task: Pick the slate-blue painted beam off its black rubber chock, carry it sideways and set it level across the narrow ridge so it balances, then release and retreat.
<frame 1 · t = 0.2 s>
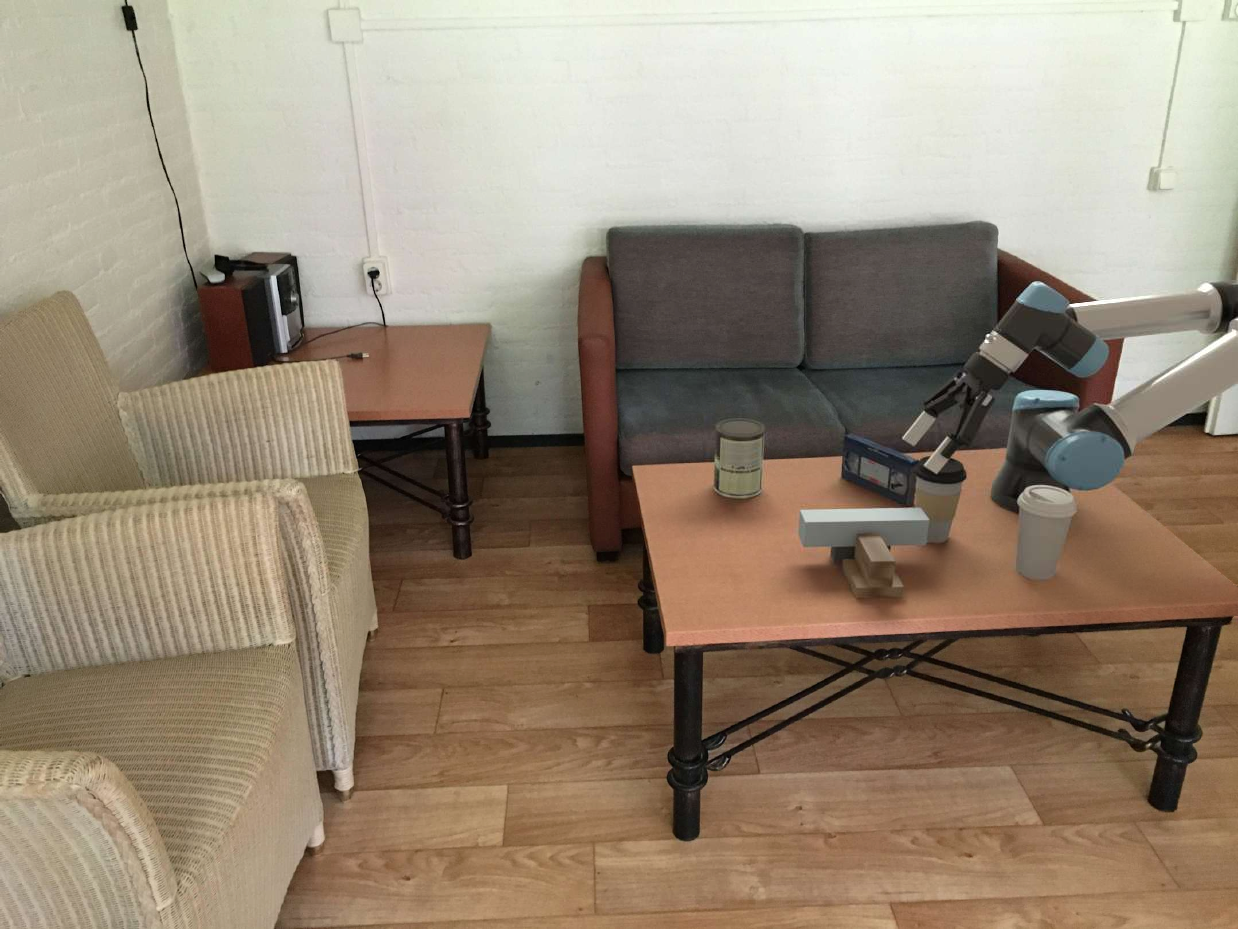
hand: (918, 455, 181), 16 cm above the table, tool tilted 35°, fingers open, 13 cm apart
beam: (861, 539, 177), point 4 cm above the table, touching chock
chock: (859, 559, 178), on the table
vhs cassette tape: (876, 491, 206), on the table
fulcrum: (871, 582, 171), on the table
coffee cup: (931, 536, 187), on the table
coffee can: (737, 489, 207), on the table
coffee cup 2: (1034, 571, 174), on the table
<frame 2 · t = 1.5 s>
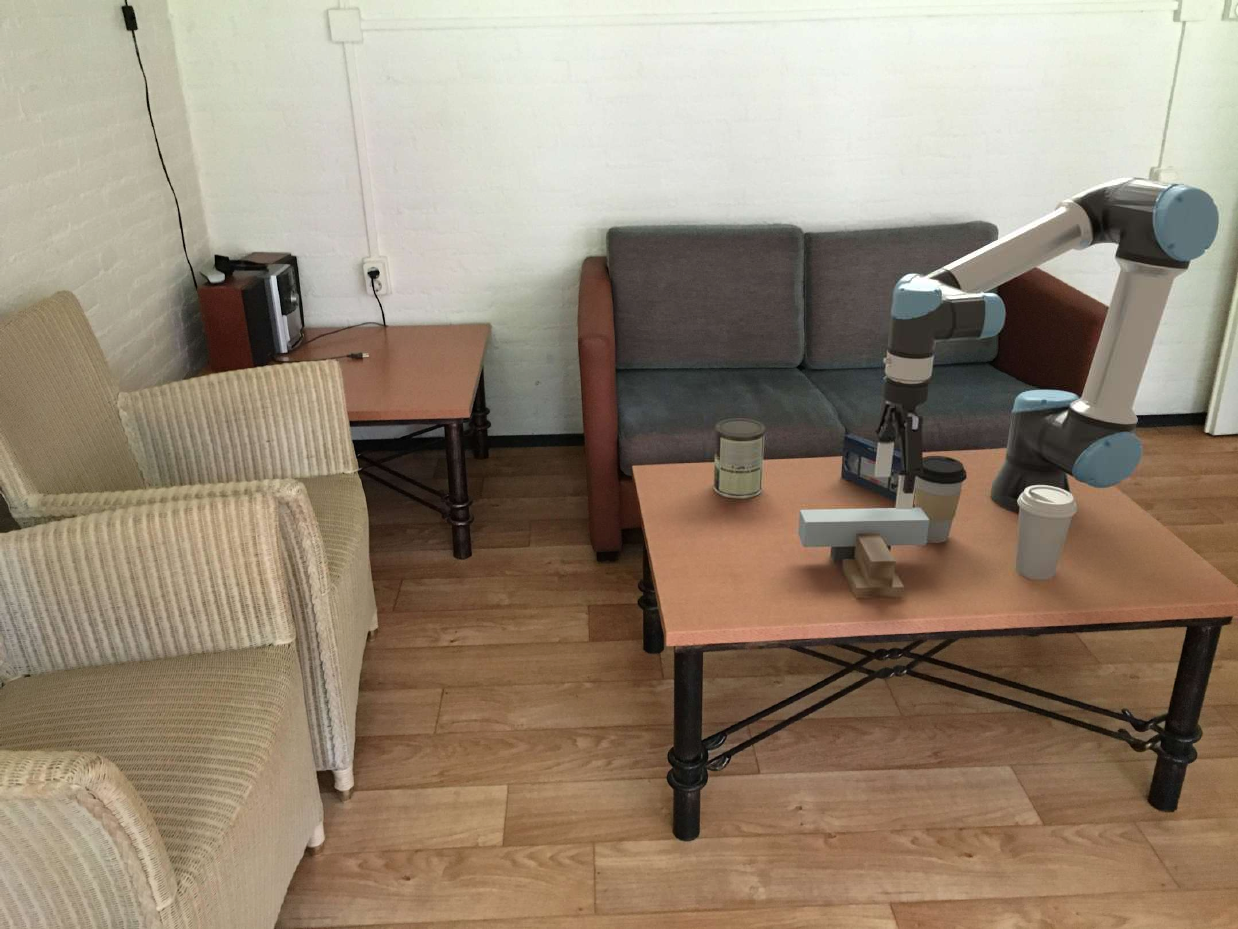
hand: (892, 491, 173), 13 cm above the table, tool pointing down, fingers open, 13 cm apart
nothing on the table moved.
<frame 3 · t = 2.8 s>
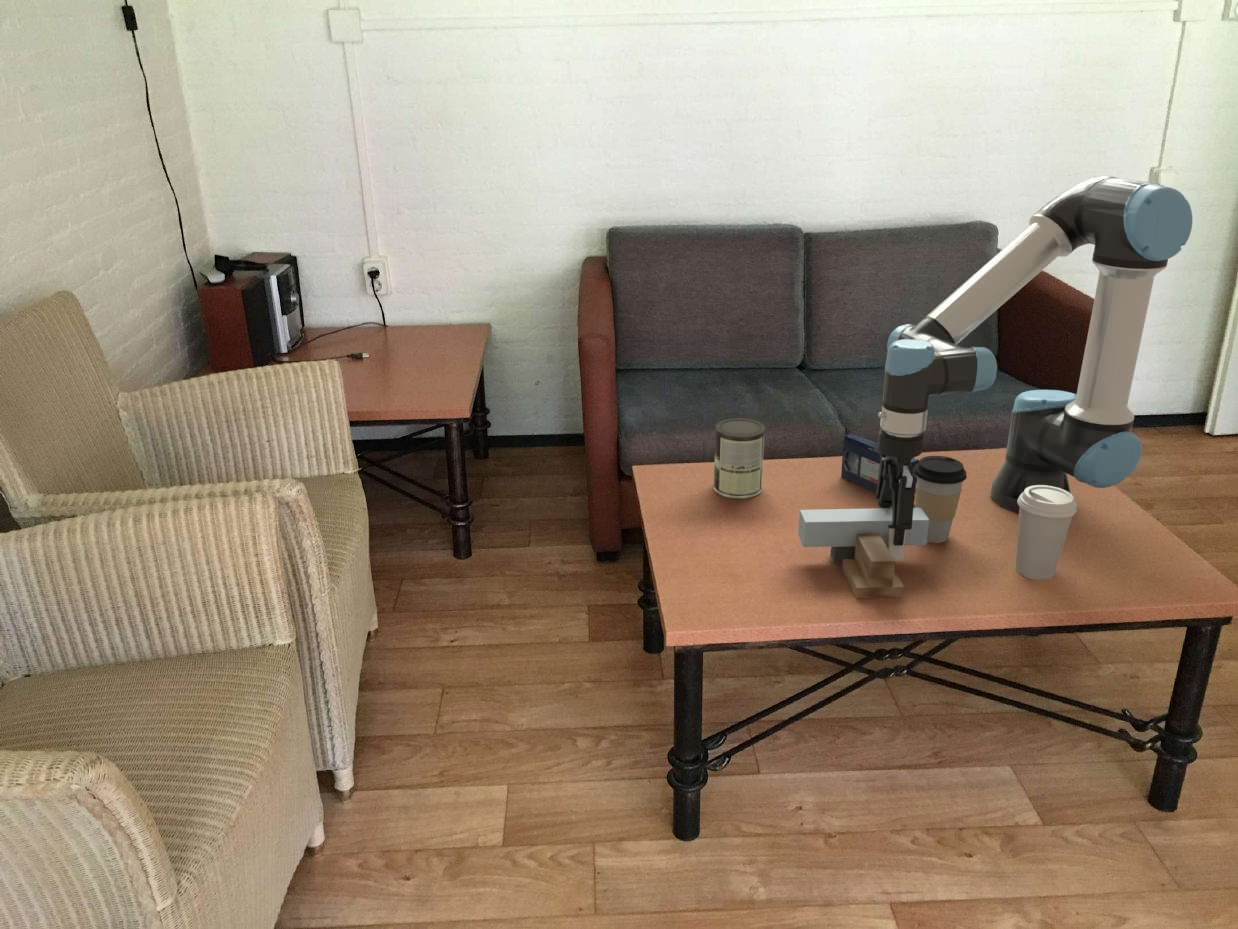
hand: (888, 549, 177), 2 cm above the table, tool pointing down, fingers open, 6 cm apart
beam: (861, 539, 177), point 4 cm above the table, touching chock, gripper
everything else where it was.
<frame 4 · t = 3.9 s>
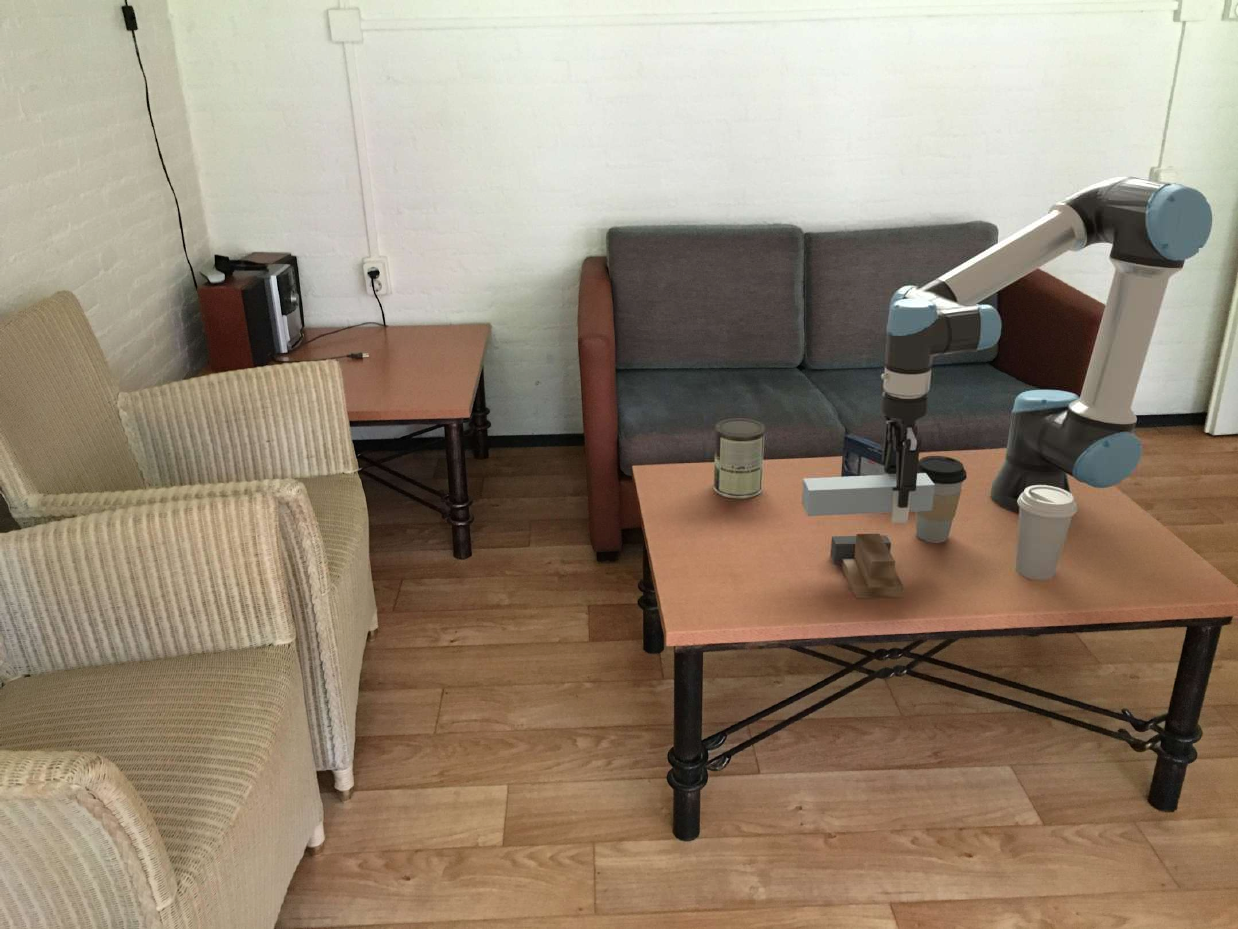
hand: (894, 514, 175), 9 cm above the table, tool pointing down, fingers closed on beam, 5 cm apart
beam: (866, 507, 174), point 10 cm above the table, touching gripper
everything else where it was.
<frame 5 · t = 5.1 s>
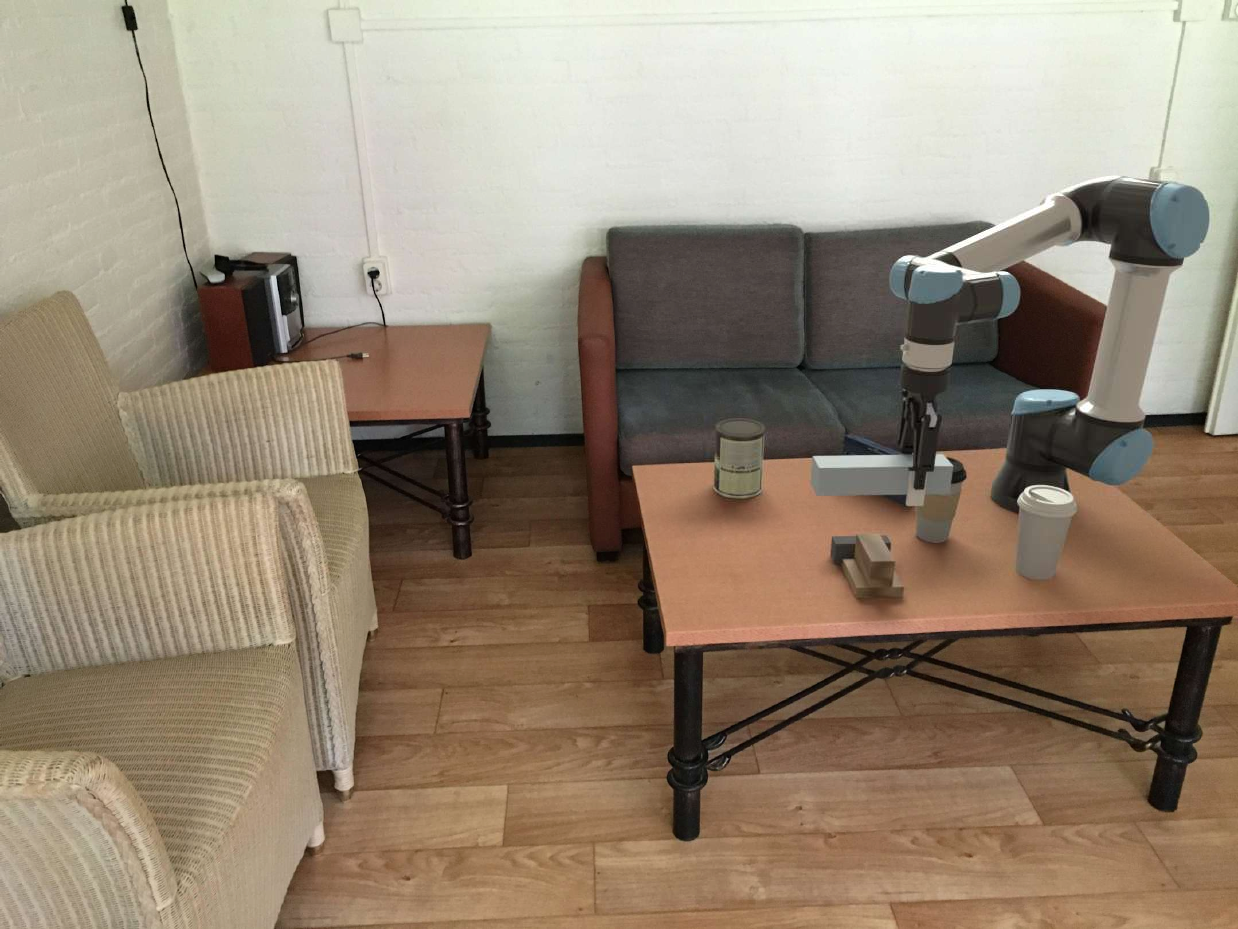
hand: (909, 497, 164), 16 cm above the table, tool pointing down, fingers closed on beam, 5 cm apart
beam: (879, 488, 164), point 18 cm above the table, touching gripper
everything else where it was.
when the fingers open (6 cm above the table, at t = 6.7 s): beam stays where it is, resting on fulcrum.
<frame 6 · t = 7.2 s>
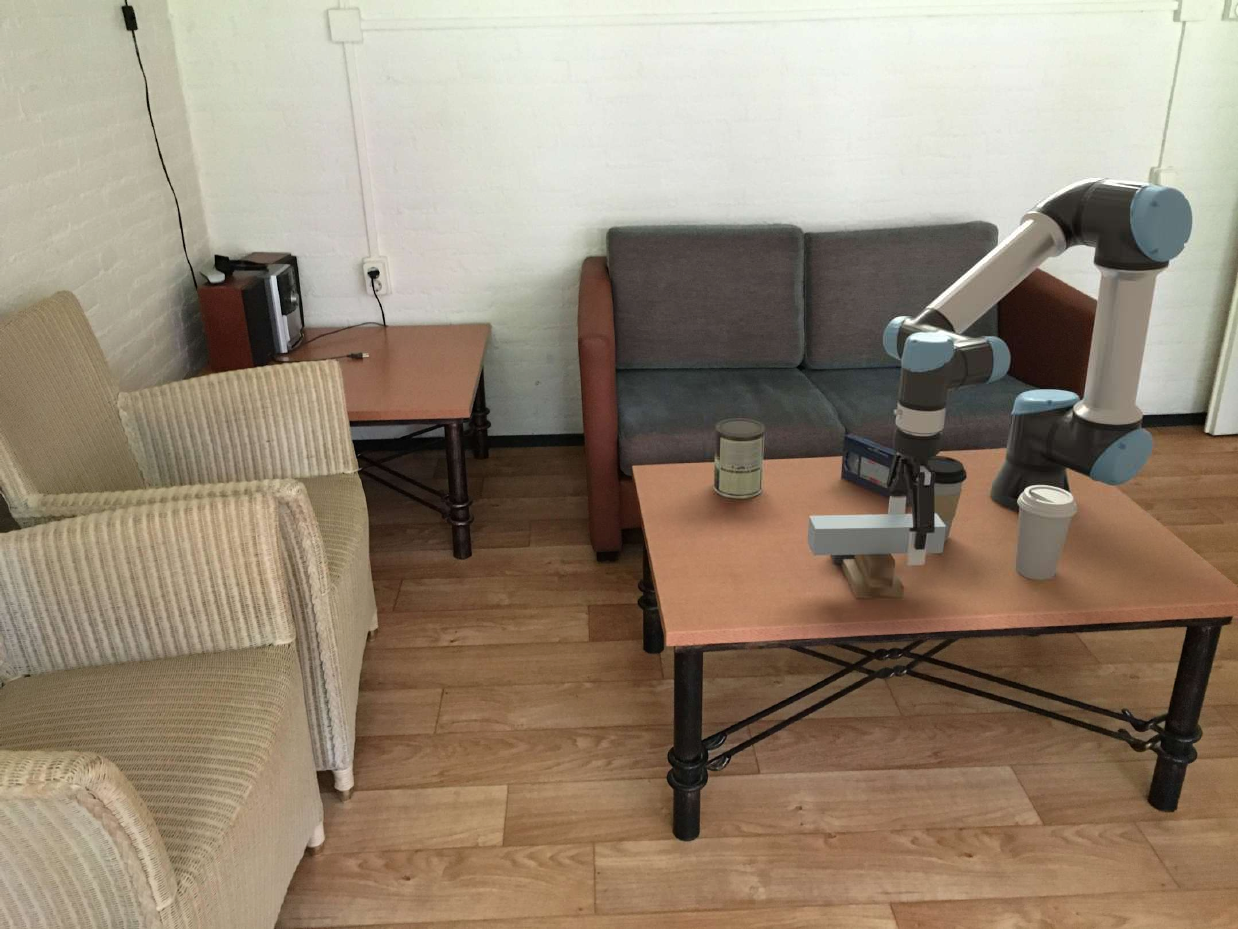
hand: (904, 546, 168), 7 cm above the table, tool pointing down, fingers open, 11 cm apart
beam: (874, 547, 168), point 7 cm above the table, touching fulcrum
everything else where it was.
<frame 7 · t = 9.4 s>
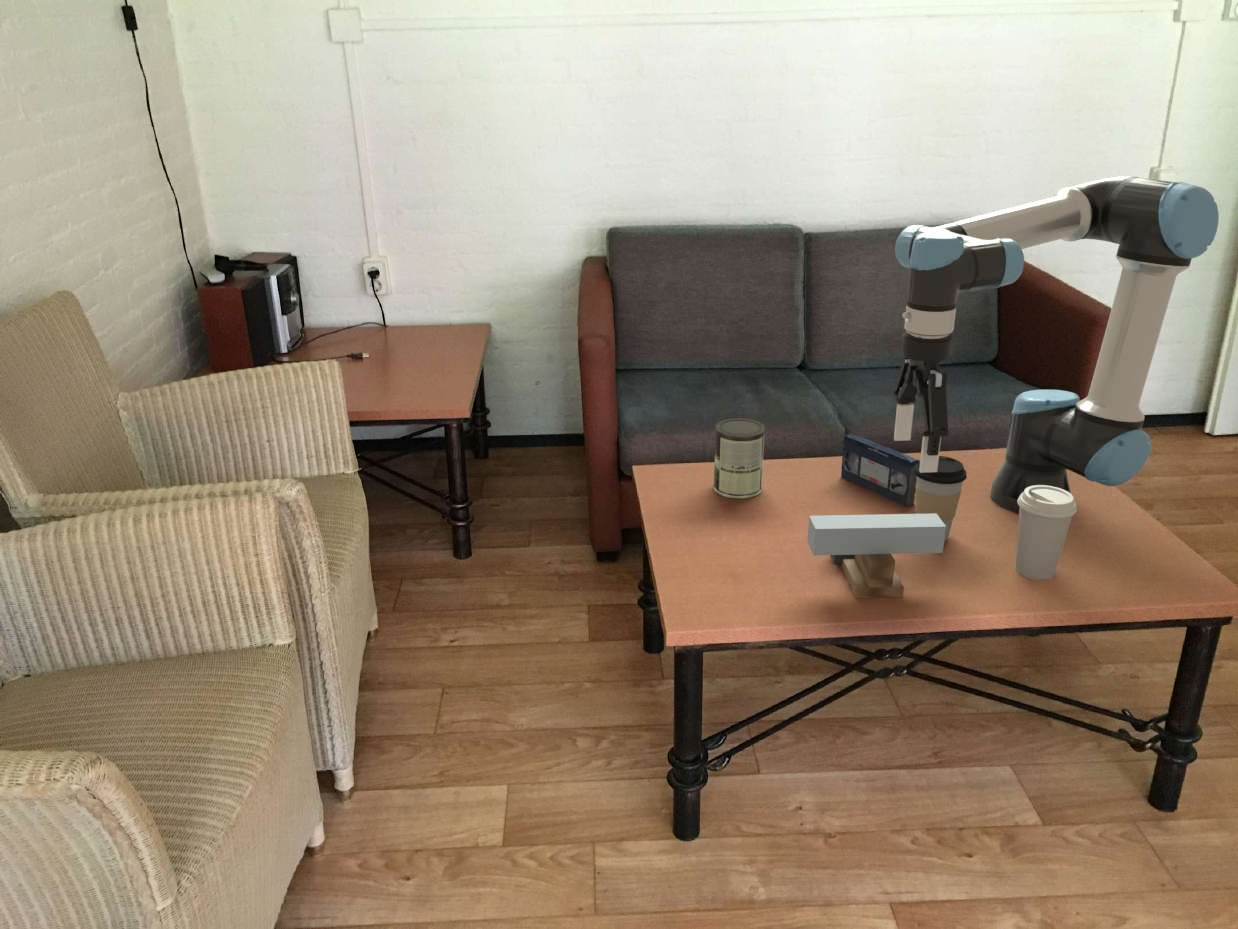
hand: (914, 455, 164), 23 cm above the table, tool pointing down, fingers open, 13 cm apart
nothing on the table moved.
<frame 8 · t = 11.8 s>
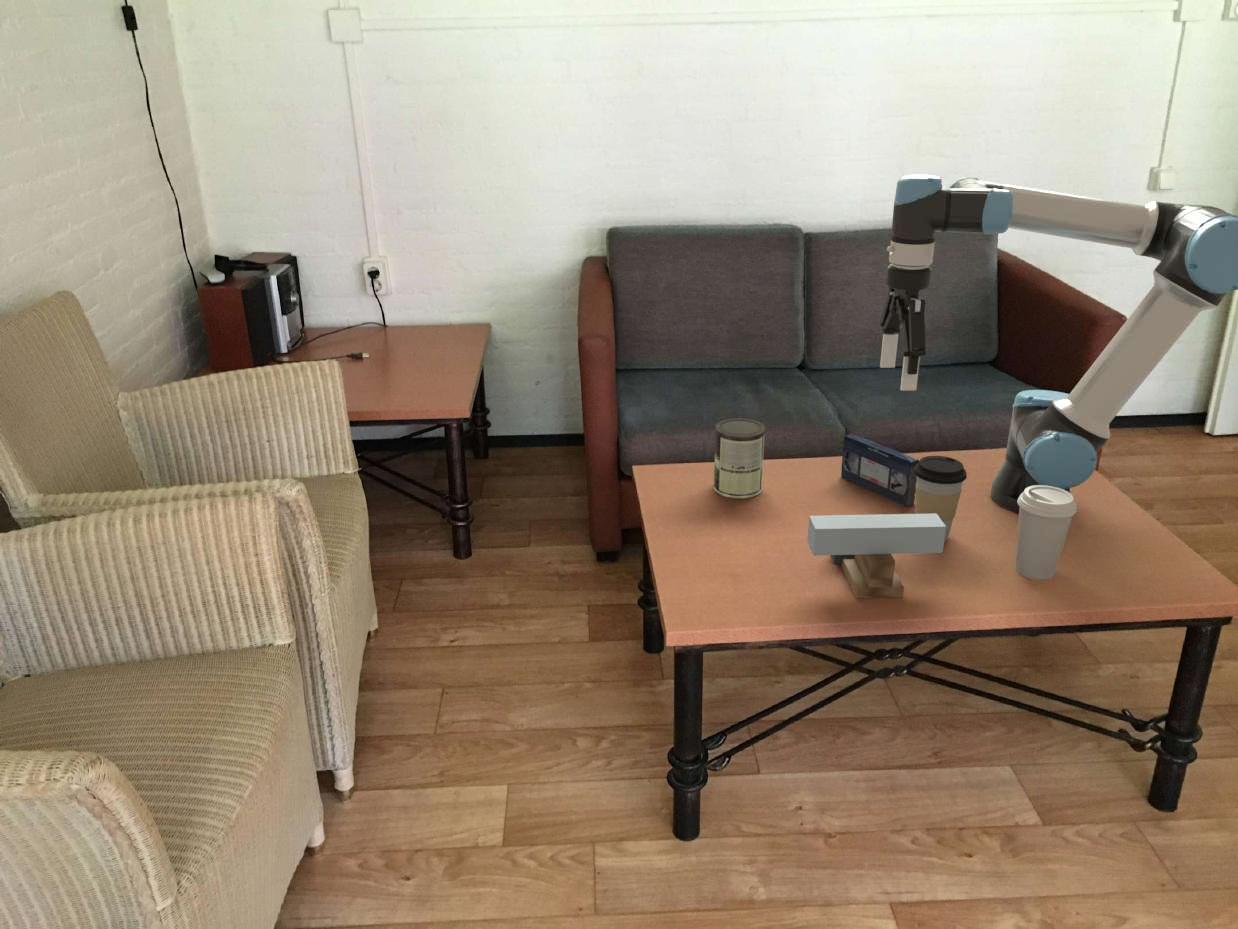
hand: (897, 378, 183), 29 cm above the table, tool pointing down, fingers open, 13 cm apart
nothing on the table moved.
at the end: beam 0.2 cm off-centre on the fulcrum, point 7.0 cm above the fulcrum's base; beam tilted 0°; the gripper is holding nothing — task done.
